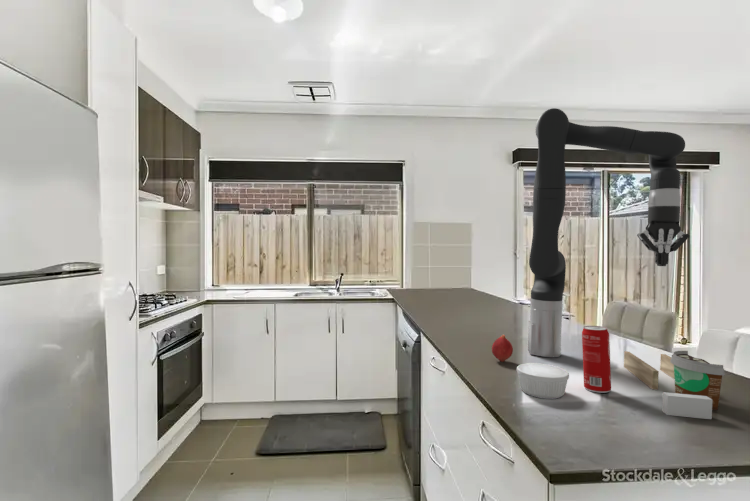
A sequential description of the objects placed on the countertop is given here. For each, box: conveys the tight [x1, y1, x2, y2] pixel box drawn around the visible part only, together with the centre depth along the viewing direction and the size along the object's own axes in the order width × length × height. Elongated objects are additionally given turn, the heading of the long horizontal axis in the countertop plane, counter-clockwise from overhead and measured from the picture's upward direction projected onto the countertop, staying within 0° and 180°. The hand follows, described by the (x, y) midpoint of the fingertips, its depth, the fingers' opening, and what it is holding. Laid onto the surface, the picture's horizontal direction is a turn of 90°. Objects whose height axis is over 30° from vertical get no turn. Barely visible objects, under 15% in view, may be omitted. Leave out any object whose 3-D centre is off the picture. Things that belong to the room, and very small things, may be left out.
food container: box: [670, 350, 725, 411], centre depth 92 cm, size 12×6×10 cm, turn 174°
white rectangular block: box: [661, 391, 713, 420], centre depth 84 cm, size 8×2×4 cm, turn 78°
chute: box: [623, 350, 675, 391], centre depth 106 cm, size 10×18×4 cm, turn 168°
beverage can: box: [581, 325, 612, 394], centre depth 97 cm, size 6×6×15 cm
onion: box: [491, 334, 514, 363], centre depth 118 cm, size 6×6×8 cm
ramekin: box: [516, 362, 570, 400], centre depth 95 cm, size 11×11×5 cm
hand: (661, 266), depth 117 cm, fingers closed
